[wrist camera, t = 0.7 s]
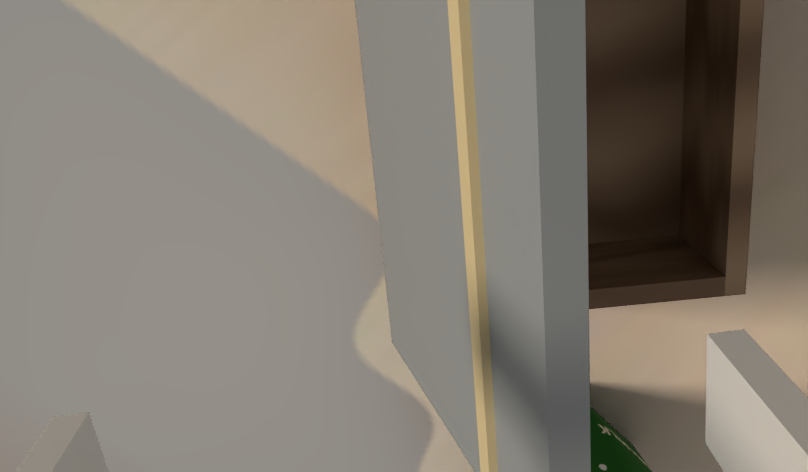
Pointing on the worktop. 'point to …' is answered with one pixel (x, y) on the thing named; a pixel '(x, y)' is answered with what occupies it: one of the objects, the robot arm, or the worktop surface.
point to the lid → (486, 217)
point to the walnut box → (670, 147)
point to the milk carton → (612, 449)
